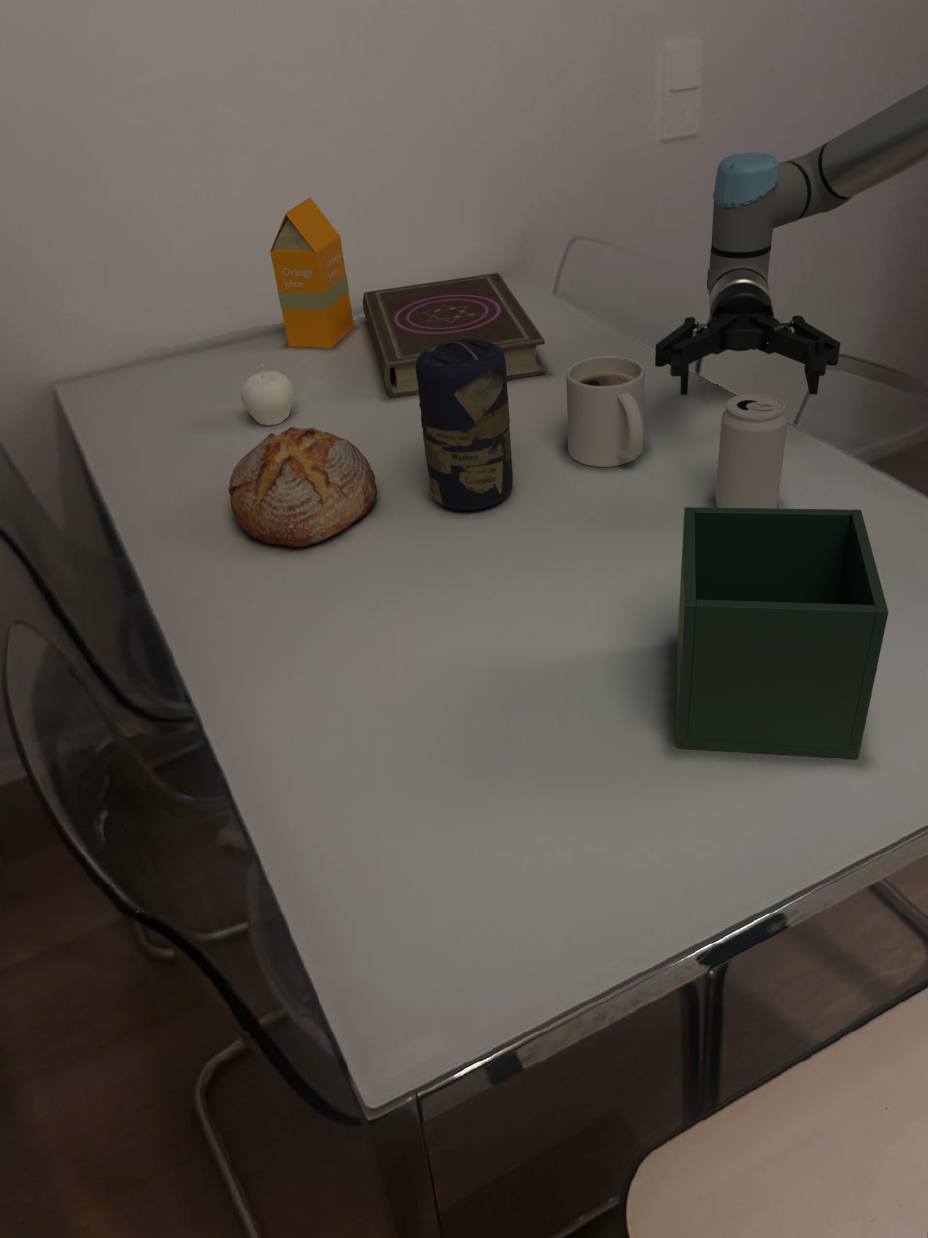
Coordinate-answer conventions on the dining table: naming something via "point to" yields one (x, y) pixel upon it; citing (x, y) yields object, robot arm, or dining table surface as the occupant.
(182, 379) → the dining table surface
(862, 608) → the waste bin
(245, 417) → the dining table surface
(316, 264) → the orange juice
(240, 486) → the bread
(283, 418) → the plain white apple
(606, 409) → the mug
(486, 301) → the book
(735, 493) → the beverage can
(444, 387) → the canister
